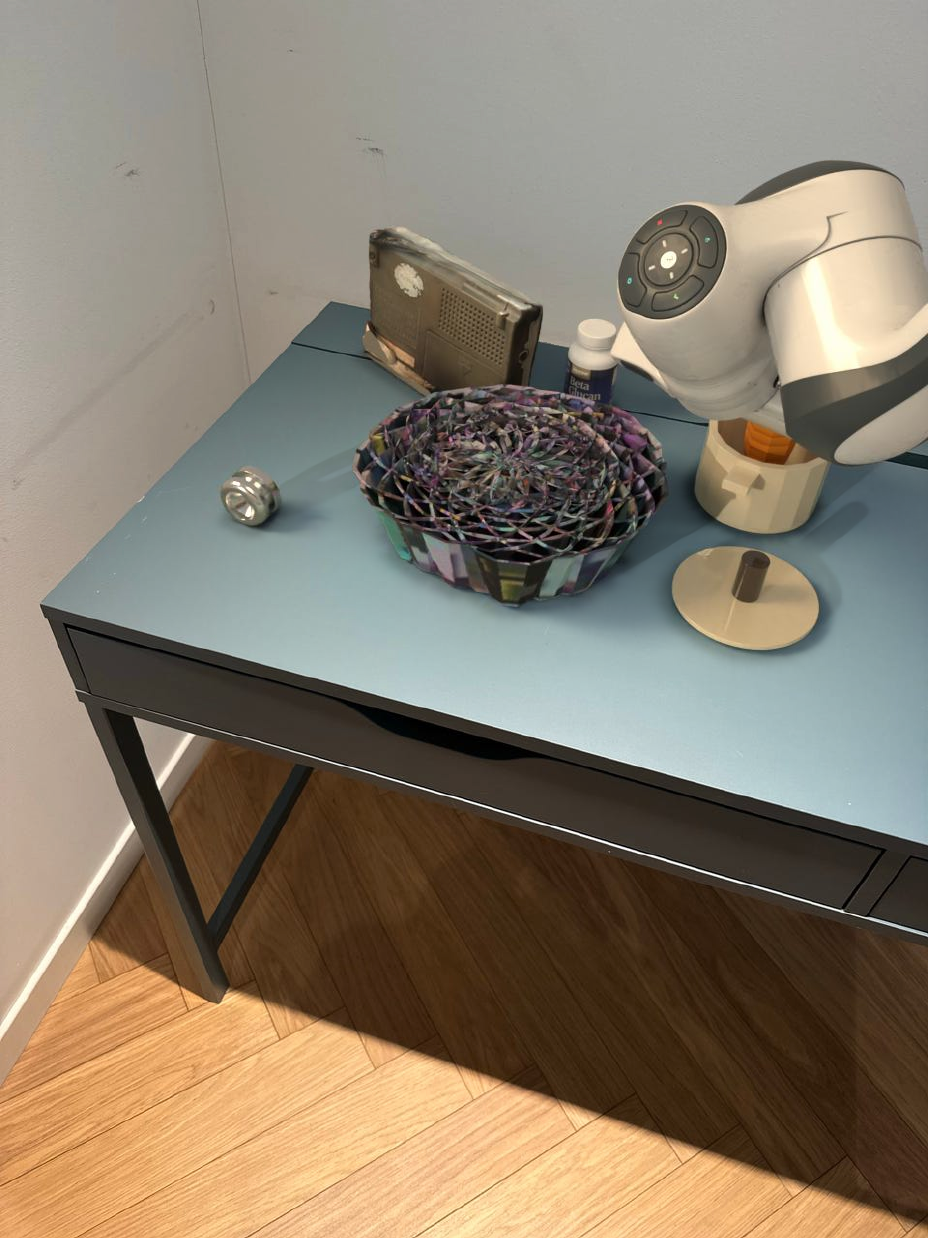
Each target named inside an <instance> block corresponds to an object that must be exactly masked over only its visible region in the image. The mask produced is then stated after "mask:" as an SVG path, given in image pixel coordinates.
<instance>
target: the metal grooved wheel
mask: <svg viewBox="0 0 928 1238" xmlns="http://www.w3.org/2000/svg"><path fill="white" fill-rule="evenodd" d="M219 493H220V496H219V497H220V500H221V502H222V505H223V507H224V509H225V510H226V511H227V513H228V514H229V515H230V516H231V517H232V518H233V519H235V520H236V521H238V522H240V523H241V524H244V525H246V526H259V525H261V524H263V523H264V522H265V521H266V520H267V519H268V517H269V516H271V515H273V513H274V512H275V511H276V510H277V509H278V508H279V507H280V505H281V502H282V496H281V492H280V489H279V486H278V485H277V483H276V482H275V481H274V479H273V478H272V477H271V476H270V475H269V474H268V473H266V472H265V471H264V470H262V469H261V468H258V467H255V466H253V465H244V466H241V467H239V468H238V469H237V470H236V471H235V472H234V473H233V474H232V475H231V477H229V478H228V479H226V480H225V481H223V483H222V485H221V487H220V491H219Z"/></svg>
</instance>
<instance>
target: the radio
mask: <svg viewBox="0 0 928 1238" xmlns="http://www.w3.org/2000/svg"><path fill="white" fill-rule="evenodd" d="M368 244H369V245H368V262H369V263H368V264H369V283H368V288H369V300H370V302H369V308H370V309H369V310H370V312H369V313H370V315H369V317H370V320H369V319H367V320H366V324H365V329H364V334H363V336H362V345H363V347H364V349H365V350H363V352H362V353H363V354H364V355H365V356H367V357H368V358H370V359H371V360H372V361H374V362H376V363H377V364H378V365H380V366H381V367H382V368H384V369H385V370H387V371H389V372H390V373H391V374H393V375H394V376H396V377H397V378H398V379H400V380H401V381H403V382H404V383H406V384H407V385H408V386H410V387H411V388H412V389H414V390H416V391H417V392H419V393H420V394H421V395H423V396H425V397H427V396H429V395H431V394H433V393H435V392H442V391H449V390H456V389H464V388H467V387H489V386H495V385H501V384H506V385H516V386H526V387H530V383H531V377H532V371H533V366H534V362H535V359H536V354H537V350H538V345H539V342H540V335H541V332H542V331H541V330H542V325H543V320H544V306H543V304H541V303H540V302H539V301H536V300H534V299H533V298H531V297H529V296H528V295H527V294H526V293H524V292H522V291H521V290H518V289H517V288H515V287H514V286H512V285H509V284H508V283H507V282H505V281H502V280H501V279H500V278H497V277H495V276H494V275H492V274H491V273H489V272H486V271H485V270H483V269H482V268H480V267H478V266H475V265H473V264H472V263H471V262H470V261H468V260H464V259H462V258H460V257H458V256H456V255H455V254H454V253H451V252H450V251H449V250H447V249H445V247H443V246H442V245H441V244H439V243H437V242H435V241H434V240H432V239H429V238H426V237H425V236H422V235H420V234H417V233H415V232H413V231H412V230H410V229H409V228H407V227H406V226H403V225H392V226H389V227H384V228H382V229H381V228H380V229H375V230H373V231H371V233H370V234H369V240H368Z"/></svg>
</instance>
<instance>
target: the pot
mask: <svg viewBox="0 0 928 1238" xmlns="http://www.w3.org/2000/svg"><path fill="white" fill-rule="evenodd" d="M708 420H709V421H708V425H707V428H706V433H705V436H704V441H703V444H702V445H703V446H702V449H701V453H700V457H699V462H698V466H697V471H696V474H695V482H694V494H695V498H696V501H697V502H698V503H699V505H700V506H701V508H702V509H703V510H704V511H705V512H706V513H707V514H709V516H711V517H712V518H713V519H715V520H716V521H719V522H720V523H722V524H724V525H727V526H728V527H731V528H734V529H737V530H740V531H744V532H748V533H753V534H761V535H762V534H766V535H767V534H770V535H771V534H781V533H786V532H790V531H793V530H795V529H797V528H799V527H801V526H803V525H804V524H805V523H806V522H807V521H808V520H809V519H810V518H811V516H812V514H813V513H814V510H815V508H816V506H817V504H818V501H819V498H820V495H821V492H822V490H823V487H824V484H825V481H826V480H827V479H826V478H827V476H828V473H829V470H830V467H831V465H832V463H830V462H828V461H826V460H824V459H822V458H820V457H818V456H816V455H814V454H813V453H811V452H809V451H808V450H806V449H805V448H803V447H802V446H800V445H799V444H798V443H796V444H795V447H794V448H793V450H792V452H791V454H790V456H789V457H788V459H787V461H786V462H785V464H784V465H778V464H771V463H763V462H760V461H758V460H755V459H752V458H749V457H747V456H744V442H745V433H746V428H747V423H748V420H745V419H743V418H741V417H740V418H736V419H732V420H721V421H718V420H710V419H708Z"/></svg>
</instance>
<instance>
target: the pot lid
mask: <svg viewBox="0 0 928 1238" xmlns="http://www.w3.org/2000/svg"><path fill="white" fill-rule="evenodd" d="M671 596H672V599H673V602H674V604H675V607H676V608H677V610H678V612H679V613H680V615H681V616H682V617H683V619H684V620H685V621H687V623H688V624H689V625H690V626H692V627H693V628H694V629H695V630H697V631H698V632H699V633H701V634H703V635H705V636H706V637H708V638H711V639H712V640H714V641H716V642H719V643H722V644H723V645H728V646H731V647H735V648H739V649H743V650H753V651H768V650H769V651H770V650H776V649H781V648H785V647H788V646H792V645H794V644H796V643H798V642H799V641H801V640H803V639H804V638H805V637H806V636H808V635H809V634H810V633H811V631H812V630H813V628H814V627H815V625H816V622H817V620H818V618H819V613H820V604H819V598H818V595H817V593H816V590H815V588H814V586H813V585H812V584H811V582H810V581H809V580H808V578H807V577H806V576H805V575H804V574H803V573H802V572H801V571H800V570H798V569H797V568H796V567H794V566H793V565H792V564H790V563H789V562H788V561H785V560H783V559H782V558H780V557H777V556H776V555H773V554H771V553H768V552H765V551H762V550H759V549H756V548H749V547H746V546H745V547H744V546H733V545H732V546H731V545H730V546H729V545H728V546H727V545H726V546H716V547H710V548H709V547H708V548H706V549H702V550H699V551H697V552H695V553H694V554H691V555H689V556H688V557H686V559H684V560H682V562H681V563H680V564H679V566H678V567H677V568H676V570H675V572H674V575H673V577H672V582H671Z"/></svg>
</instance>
